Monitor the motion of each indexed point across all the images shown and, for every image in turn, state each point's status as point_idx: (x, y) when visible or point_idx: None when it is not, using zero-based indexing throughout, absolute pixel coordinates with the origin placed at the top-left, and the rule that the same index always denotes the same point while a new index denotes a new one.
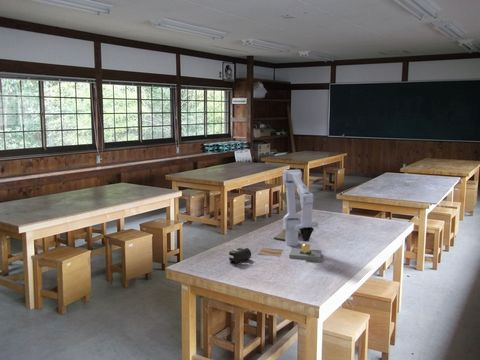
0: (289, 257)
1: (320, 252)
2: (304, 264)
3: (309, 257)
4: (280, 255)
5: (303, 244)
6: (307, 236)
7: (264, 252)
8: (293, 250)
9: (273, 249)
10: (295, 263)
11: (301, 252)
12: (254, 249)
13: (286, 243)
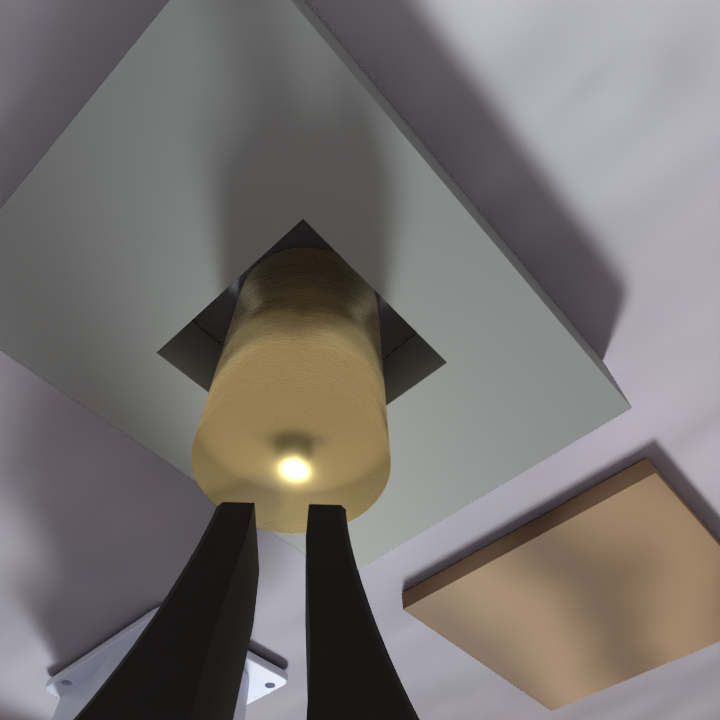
0: (610, 376)
1: (13, 214)
2: (638, 4)
3: (405, 133)
4: (616, 494)
5: (340, 490)
6: (228, 647)
7: (660, 630)
8: (405, 510)
9: (492, 651)
10: (708, 157)
11: None
12: (605, 715)
13: (246, 704)
